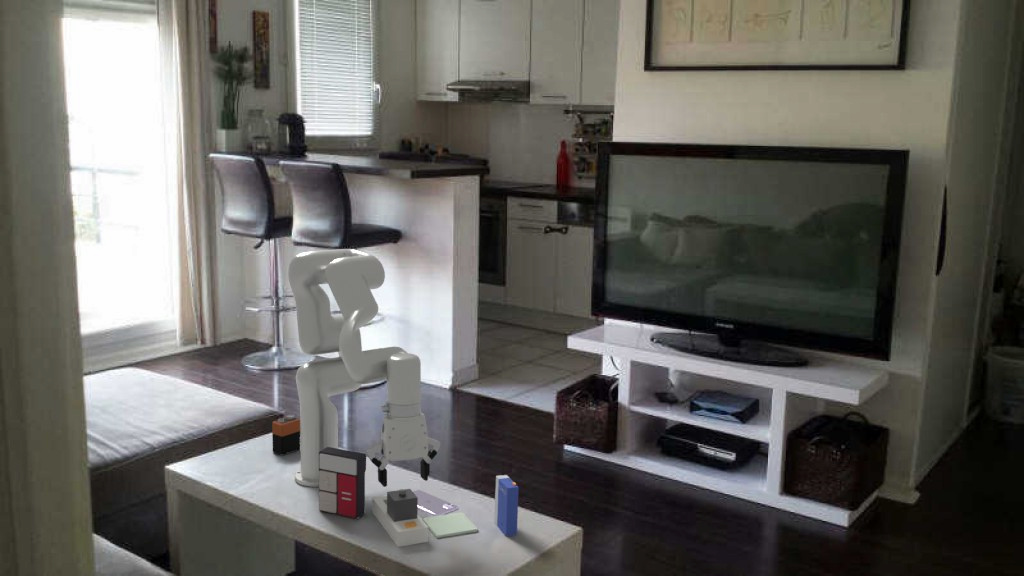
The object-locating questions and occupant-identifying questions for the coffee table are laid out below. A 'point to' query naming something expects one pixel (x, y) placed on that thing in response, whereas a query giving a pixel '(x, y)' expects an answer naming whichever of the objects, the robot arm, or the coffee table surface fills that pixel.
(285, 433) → the battery
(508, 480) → the walkman
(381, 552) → the coffee table surface
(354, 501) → the red grey panelled box
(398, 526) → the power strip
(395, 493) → the grey knobbed block
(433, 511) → the mobile phone
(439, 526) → the mat
